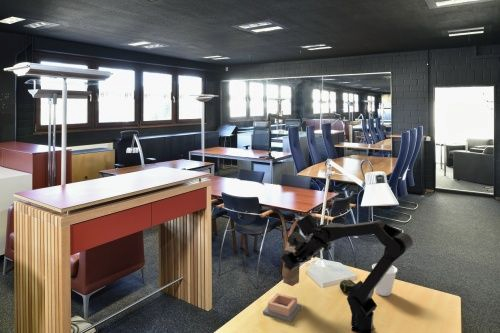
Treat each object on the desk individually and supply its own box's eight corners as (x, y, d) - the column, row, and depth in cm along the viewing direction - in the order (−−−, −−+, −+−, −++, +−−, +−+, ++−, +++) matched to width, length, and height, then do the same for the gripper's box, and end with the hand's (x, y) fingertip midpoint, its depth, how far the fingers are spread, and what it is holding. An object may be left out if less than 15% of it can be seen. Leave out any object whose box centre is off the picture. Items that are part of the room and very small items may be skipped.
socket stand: (301, 307, 144) (301, 297, 143) (290, 321, 134) (290, 311, 133) (275, 300, 149) (275, 290, 148) (262, 313, 139) (263, 303, 138)
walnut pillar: (298, 282, 150) (299, 249, 148) (292, 286, 147) (293, 252, 145) (289, 278, 153) (290, 246, 151) (283, 282, 150) (283, 249, 148)
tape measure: (359, 293, 155) (360, 285, 154) (345, 296, 153) (345, 287, 152) (350, 286, 161) (351, 278, 161) (336, 288, 159) (337, 280, 159)
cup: (380, 300, 149) (382, 274, 148) (365, 289, 159) (367, 264, 157) (400, 296, 152) (402, 271, 151) (384, 285, 162) (386, 261, 160)
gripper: (314, 222, 150) (291, 241, 159) (286, 233, 137) (262, 254, 146) (330, 246, 146) (306, 264, 155) (303, 260, 133) (278, 279, 142)
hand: (288, 264), depth 150 cm, fingers closed on walnut pillar, 4 cm apart
